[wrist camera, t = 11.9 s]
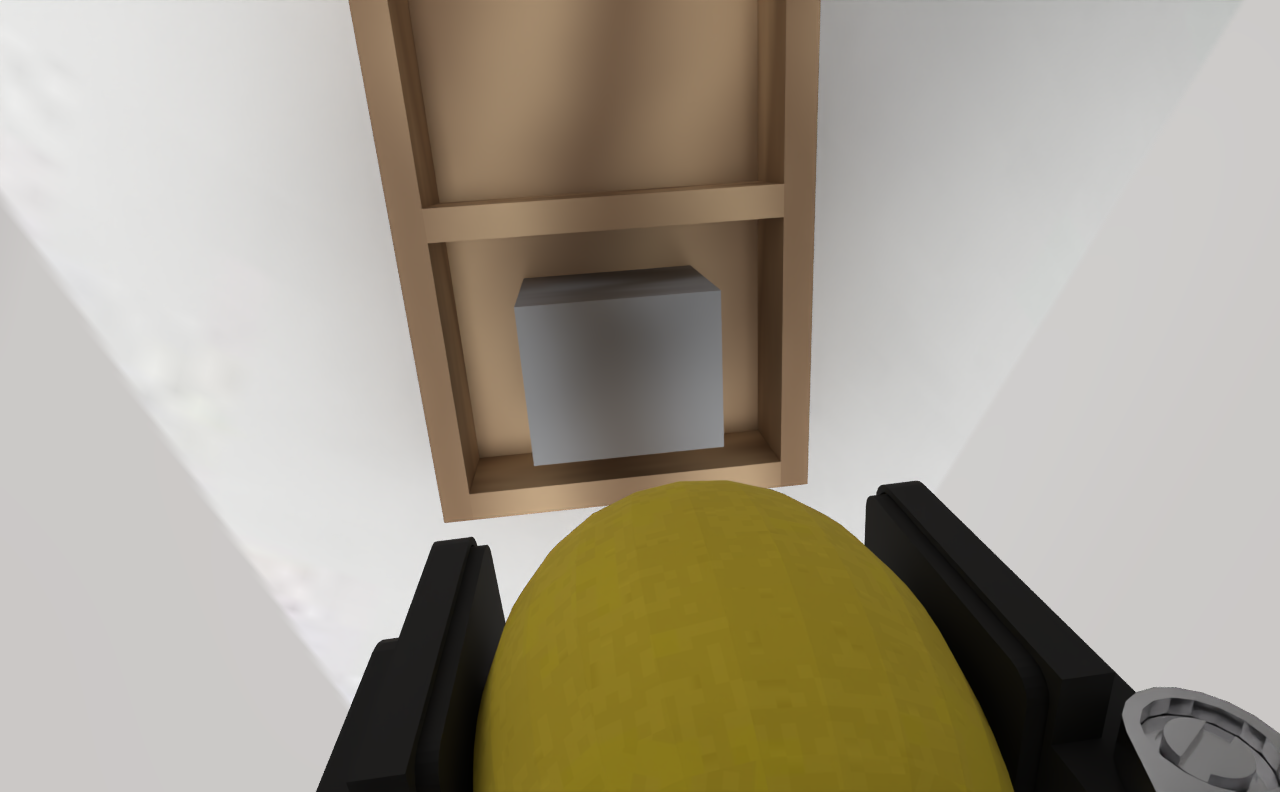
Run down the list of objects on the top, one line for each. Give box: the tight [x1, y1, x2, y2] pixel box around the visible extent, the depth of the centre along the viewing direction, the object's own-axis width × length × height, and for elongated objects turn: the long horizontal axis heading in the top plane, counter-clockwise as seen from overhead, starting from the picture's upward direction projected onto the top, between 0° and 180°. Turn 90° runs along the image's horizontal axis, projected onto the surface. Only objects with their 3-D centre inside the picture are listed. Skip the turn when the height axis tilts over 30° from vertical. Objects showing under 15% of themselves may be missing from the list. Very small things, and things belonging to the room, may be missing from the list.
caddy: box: [349, 0, 821, 523], centre depth 21 cm, size 13×20×6 cm, turn 4°
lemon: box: [473, 480, 1014, 792], centre depth 8 cm, size 6×6×8 cm
